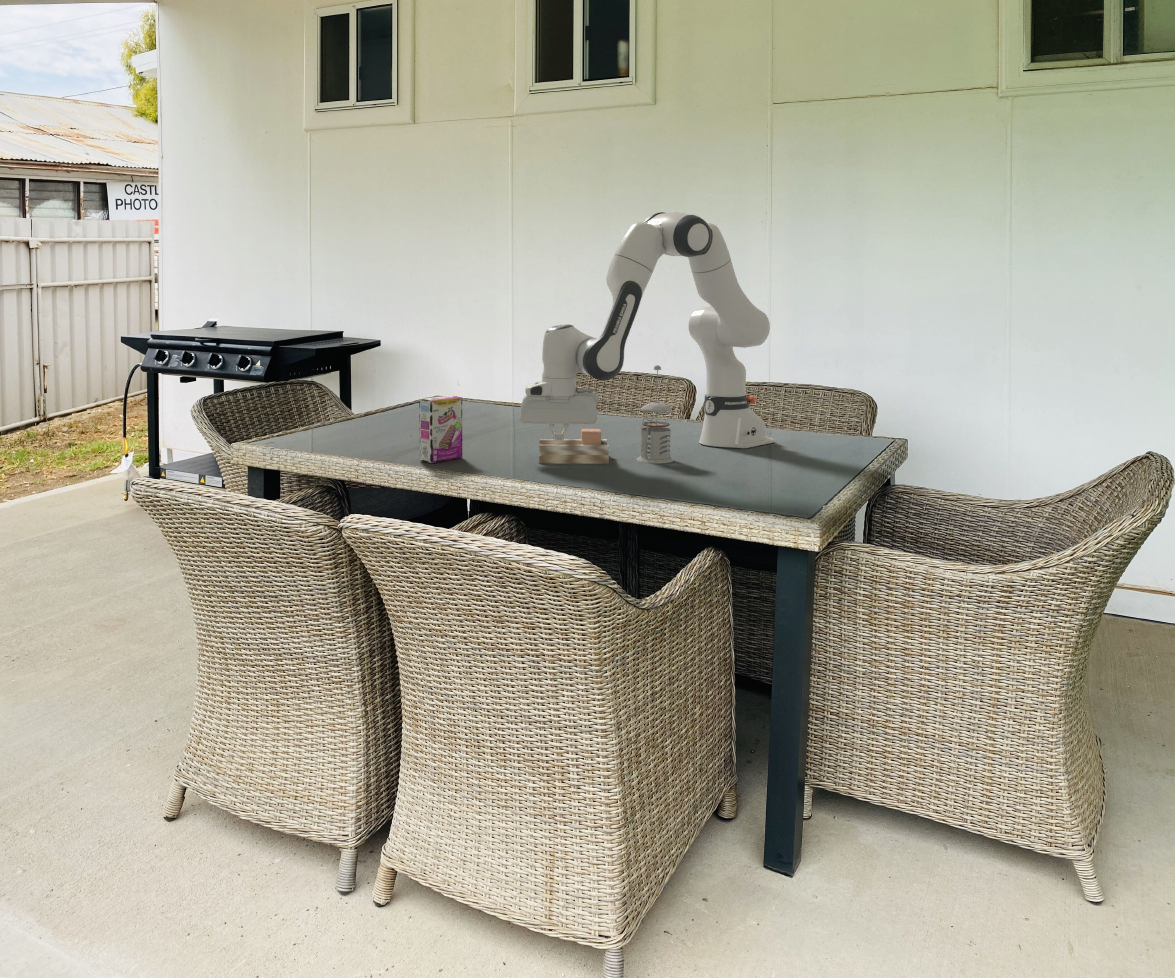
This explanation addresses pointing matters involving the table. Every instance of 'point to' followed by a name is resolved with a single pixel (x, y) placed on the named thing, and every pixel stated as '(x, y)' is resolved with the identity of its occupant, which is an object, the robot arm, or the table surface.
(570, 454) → the chute
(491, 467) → the table surface
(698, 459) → the table surface
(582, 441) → the block
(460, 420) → the candy bar box
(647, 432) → the french press
